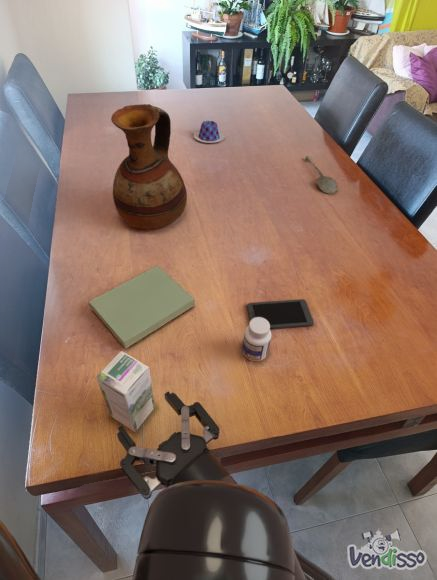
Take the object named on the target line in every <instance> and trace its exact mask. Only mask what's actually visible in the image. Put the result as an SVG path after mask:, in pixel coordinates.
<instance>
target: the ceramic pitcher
mask: <svg viewBox="0 0 437 580" xmlns="http://www.w3.org/2000/svg"><path fill="white" fill-rule="evenodd" d="M110 120H111V122H112V124H113V125H114V126H115V127H117V128H118V129H120V131H122V132H123V133H124V135H125V139H126V142H127V147H128V155H127V156H126V157H125V158H124V159H123V160H122V161H121V163H120V164H119V166H118V167H117V170H116V172H115V175H114V178H113V183H112V198H113V199H112V200H113V203H114V206H115V209H116V211H117V213H118V215H119V216H120V218H121V219H122V220H123V221H124V222H125V223H126V224H128V225H129V226H131V227H132V228H136V229H140V230H155V229H160V228H164V227H167V226H169V225H171V224H173V223H174V222H175V221H176V220H177V219H179V218H180V217H181V216H182V214H183V213H184V211H185V209H186V207H187V202H188V192H187V189H186V185H185V182H184V179H183V177H182V175H181V173H180V171H179V170H178V168H177V167H176V166H175V164H174V163H173V162H171V160H170V158H169V150H170V149H169V148H170V142H171V134H172V128H171V127H172V126H171V125H172V123H171V117H170V115H169V113H168V112H166V111H165V110H164V109H163V108H160V107H158V106H154V105H151V103H148V104H147V103H146V104H145V103H143V104H129V105H125V106H123V107H121V108H119V109H116V110H115V112H113V113H112V115H111V118H110ZM153 129H154V139H153V143H152V131H153Z"/></svg>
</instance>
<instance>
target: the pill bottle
mask: <svg viewBox="0 0 437 580" xmlns="http://www.w3.org/2000/svg"><path fill="white" fill-rule="evenodd" d="M244 329H245V330H244V333H243V341H242V342H243V343H242V354H243V356H244V357H245V358H246V359H247V360H249V361H252V362H260V361H263V360H264V359H265V358H266V357H267V356H268V353H269V349H270V345H271V342H272V331H271V329H270V324H269V322H268V321H267V320H266V319H264V318H262V317H255V318H253V319H252V320H251V321H250V320H249V323H248V325H247V327H246V328H244Z"/></svg>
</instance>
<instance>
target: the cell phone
mask: <svg viewBox="0 0 437 580" xmlns="http://www.w3.org/2000/svg"><path fill="white" fill-rule="evenodd" d="M246 310H247V313H248V318H249V322H250V321H251V320H252V319H253V318H255V317H262V318H264V319H266V320H267V321H268V322H269V324H270V330H276V329H277V330H278V329H279V330H280V329H291V328H303V327H311V326H313V325H314V319H313V316H312V313H311V310H310V307H309V305H308V303H307V301H306V300H305V299H303V298H301V299H288V300H285V299H284V300H270V301H258V302H249V303H247V305H246Z"/></svg>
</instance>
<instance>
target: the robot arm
mask: <svg viewBox="0 0 437 580" xmlns="http://www.w3.org/2000/svg"><path fill="white" fill-rule="evenodd" d="M164 399H165V401H166V403H167V404H168V405H169V406H170V407H171V409H173V411H174V412H175V413H176V414H177V415H178V416H181V417H180V418H181V419H180V420H181V421H180V422H181V424H180V425H181V427H180V428H181V431H174V432H173V433H172V434H171V435H170V436H169V437H168V439H166V440H164V441H162V442H161V443H160V444H158V446H157V449H153V448H149V447H147V448H144V447H138V446H137V445H136V442H135V441H134V439H133V438H132V437H131V435H130V434H129V432H128V431H127V430H126V429H125V426H124V425H123V424H122V425H120V426H119V427H117V430H118V432H117V433H116V436H117V439H118V441H119V443H120V444H121V446H122V447H123V449H124V451H125V452H126V454H125V456H124V457H123V458H122V459H121V460H120V461H119V465H120V467H121V470H122V472H123V473H124V475H125V476H126V477H127V478H128V480H129V481H130V482H131V483H132V485H133V486H134V487H135V489H137V491H138V492H139V494H140V495H141V496H142V498H143V499H144V500H149V499H150V498H151V497H152V494H153V492H155V490H157V489H158V487H159V486H161V485H162V486H164V487H165V488H164V489H162V490H161V491H159V492H158V493H157V495H156V496H155V497H154V498H153V500H152V502H151V504H150V505H149V507H148V509H147V510H148V511H147V513H146V516H145V519H144V522H143V526H142V529H141V533H140V538H139V541H138V546H137V551H136V554H137V556H136V558H135V564H134V568H133V573H132V579H131V580H337V579H336V578H335V577H334V576H332V574H330V573H329V572H327V570H324V569H323V568H322V567H320V566H319V565H318V564H316V563H315V562H313V561H312V560H310V559H308V558H307V557H305V556H304V555H303V554H302V553H300V552H299V551H297V550H296V549H295V548H294V546H293V541H292V537H291V532H290V526H289V522H288V519H287V516H286V515H285V512H284V511H283V510H282V508H281V507H280V506H279V505H278V504H277V503H276V502H275V501H273V500H272V499H271V498H270V497H269V496H267V495H265V494H264V493H262V492H260V491H258V490H256V489H255V488H252V487H249V486H247V485H244V484H238V482H237V481H236V480H235V479H234V478H233V476H232V475H231V474H230V473H229V472H228V470H227V469H226V468H225V467H224V466H223V464H222V463H221V462H220V461H219V460H218V459H217V457H216V456H215V455H214V454H213V453H212V451H211V450H210V449H209V447H208V444H209V443H210V442H211V441H213V440H214V441H216V440H218V439H219V438H220V430H221V429H220V427H219V425H218V424H217V423H216V421H215V420H214V419H213V418H212V417H211V415H210V414H209V413H208V412H207V410H206V409H205V408H204V407H203V405H202V404H201V403H200V402H199V401H194V402H193V404H190V405H186V404H185V403H184V401H183V400H181V399H180V396H178V395H177V394H176V393H175V392H173V391H172V392H171V393H170V392H169V391H167V392H165V393H164ZM192 417H195V419H197V421H198V422H199V424H200V425H201V426H202V427H203V429H202V433H203V436H202V435H197V434H193V433H191V427H190V425H191V424H190V418H192ZM135 462H137V463H142V464H145V465H146V466H149V467H153V468H155V477H154V478H151V477H149V476H148V475H147V476H144V477H143V476H142V475H141V474H140V473H139V471H138V470H137V469H136V468H135V467H134V464H135ZM0 580H42V579H41V577H40V576H39V574H38V573H37V572H36V569H34V567H33V565H32V563H31V562H30V560H29V559H28V557H27V555H26V554H25V552H24V550H23V549H22V548H21V546H20V544H19V543H18V541H17V540H16V538H15V537H14V536H13V534H12V533H11V532H10V531H9V529H8V527H7V526H6V525H5V524H4V522H3V521H2V520H1V519H0Z"/></svg>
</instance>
